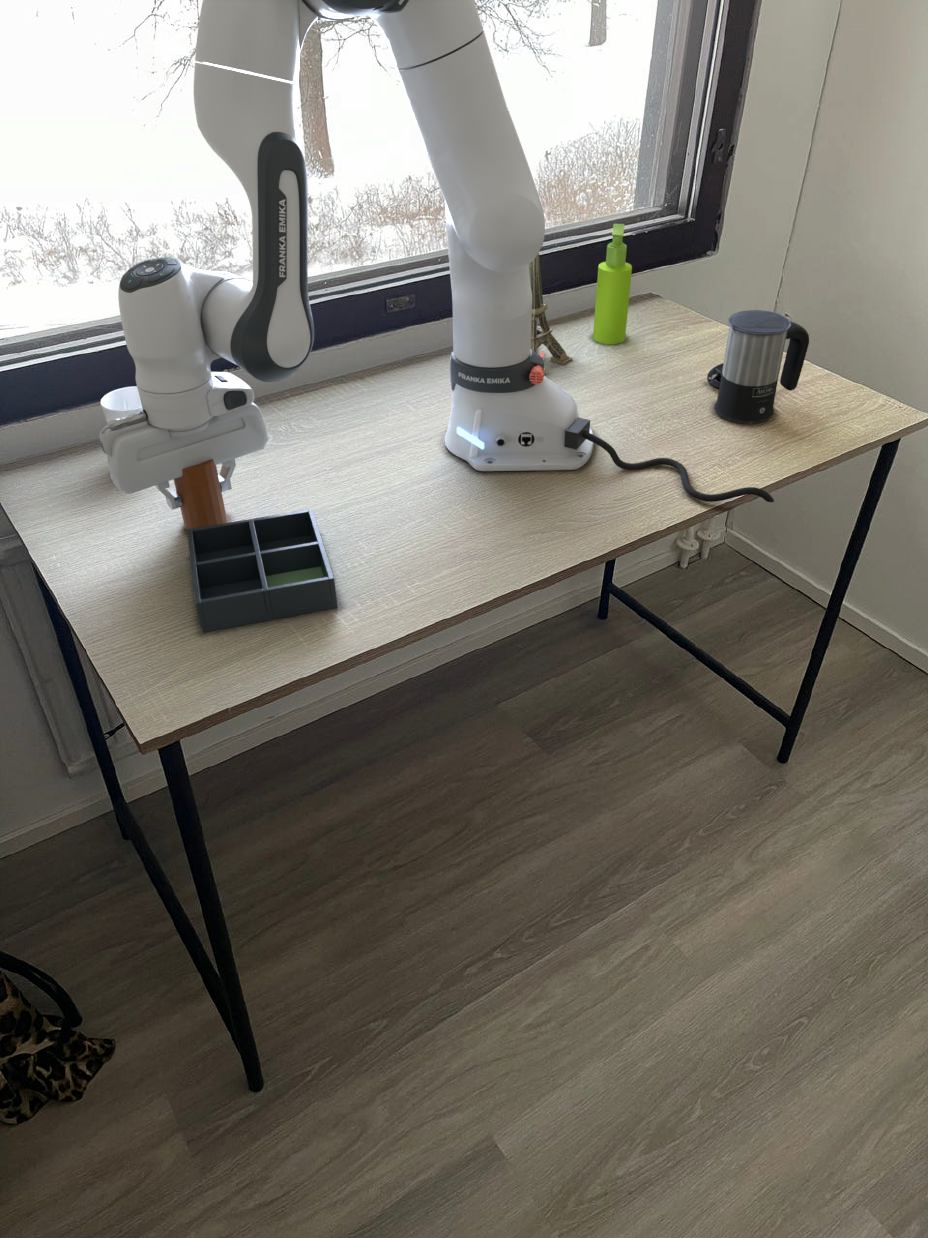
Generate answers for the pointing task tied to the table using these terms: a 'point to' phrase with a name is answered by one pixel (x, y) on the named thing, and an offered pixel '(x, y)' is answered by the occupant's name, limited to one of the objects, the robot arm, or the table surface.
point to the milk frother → (757, 365)
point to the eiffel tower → (542, 318)
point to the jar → (201, 496)
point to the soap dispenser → (612, 292)
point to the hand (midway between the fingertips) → (200, 497)
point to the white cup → (121, 403)
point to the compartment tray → (259, 570)
